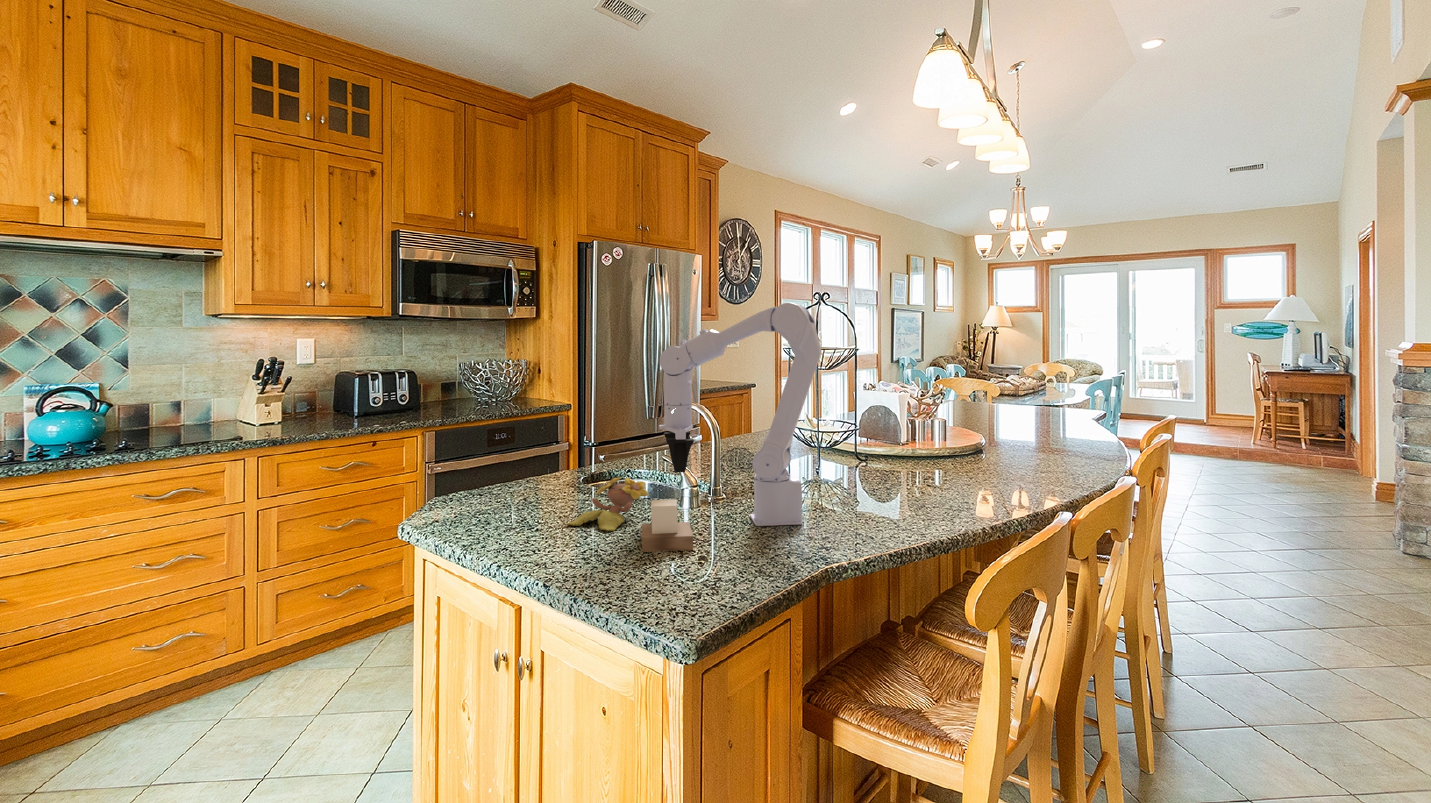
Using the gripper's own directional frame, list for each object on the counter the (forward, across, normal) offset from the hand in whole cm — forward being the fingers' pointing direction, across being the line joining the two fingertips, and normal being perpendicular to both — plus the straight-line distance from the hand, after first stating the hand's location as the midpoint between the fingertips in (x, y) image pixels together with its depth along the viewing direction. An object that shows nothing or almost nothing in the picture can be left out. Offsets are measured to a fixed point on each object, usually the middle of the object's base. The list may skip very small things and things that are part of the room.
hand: (678, 468), depth 144 cm
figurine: (+10, +2, -14) cm, 18 cm away
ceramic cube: (+7, +20, -4) cm, 21 cm away
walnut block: (+10, +19, -4) cm, 22 cm away
